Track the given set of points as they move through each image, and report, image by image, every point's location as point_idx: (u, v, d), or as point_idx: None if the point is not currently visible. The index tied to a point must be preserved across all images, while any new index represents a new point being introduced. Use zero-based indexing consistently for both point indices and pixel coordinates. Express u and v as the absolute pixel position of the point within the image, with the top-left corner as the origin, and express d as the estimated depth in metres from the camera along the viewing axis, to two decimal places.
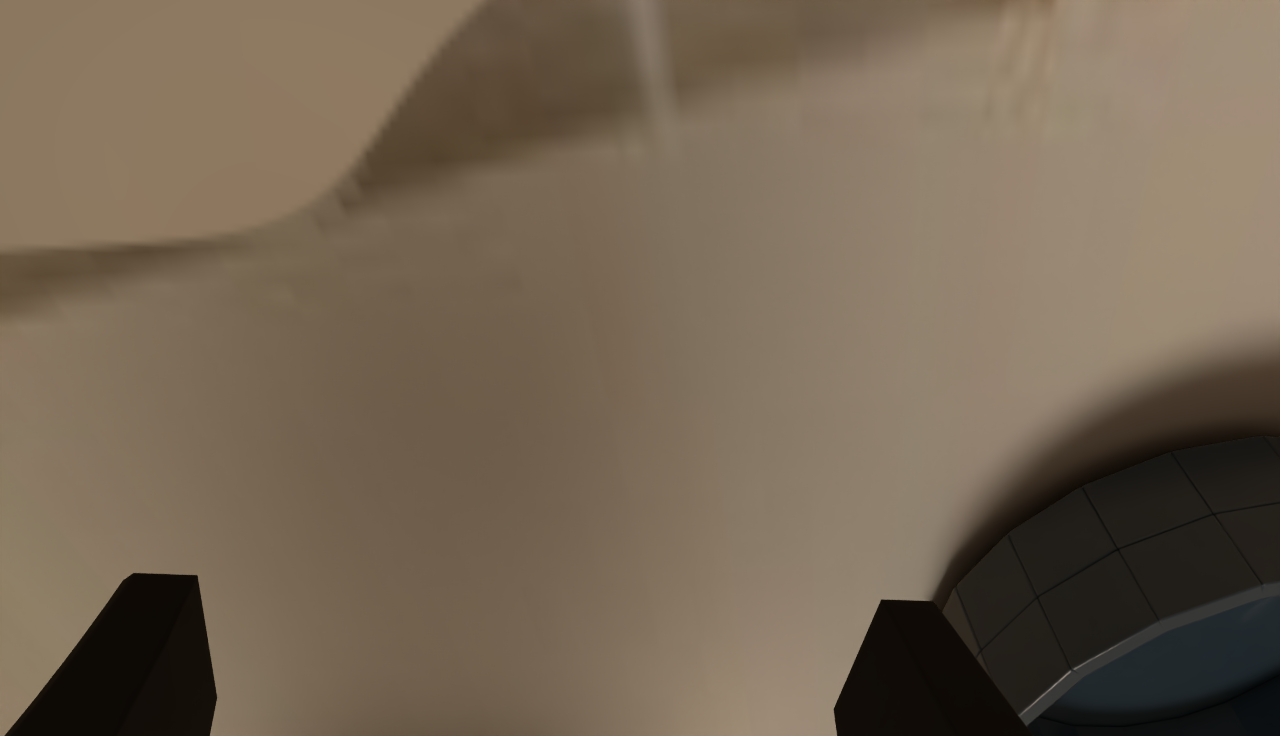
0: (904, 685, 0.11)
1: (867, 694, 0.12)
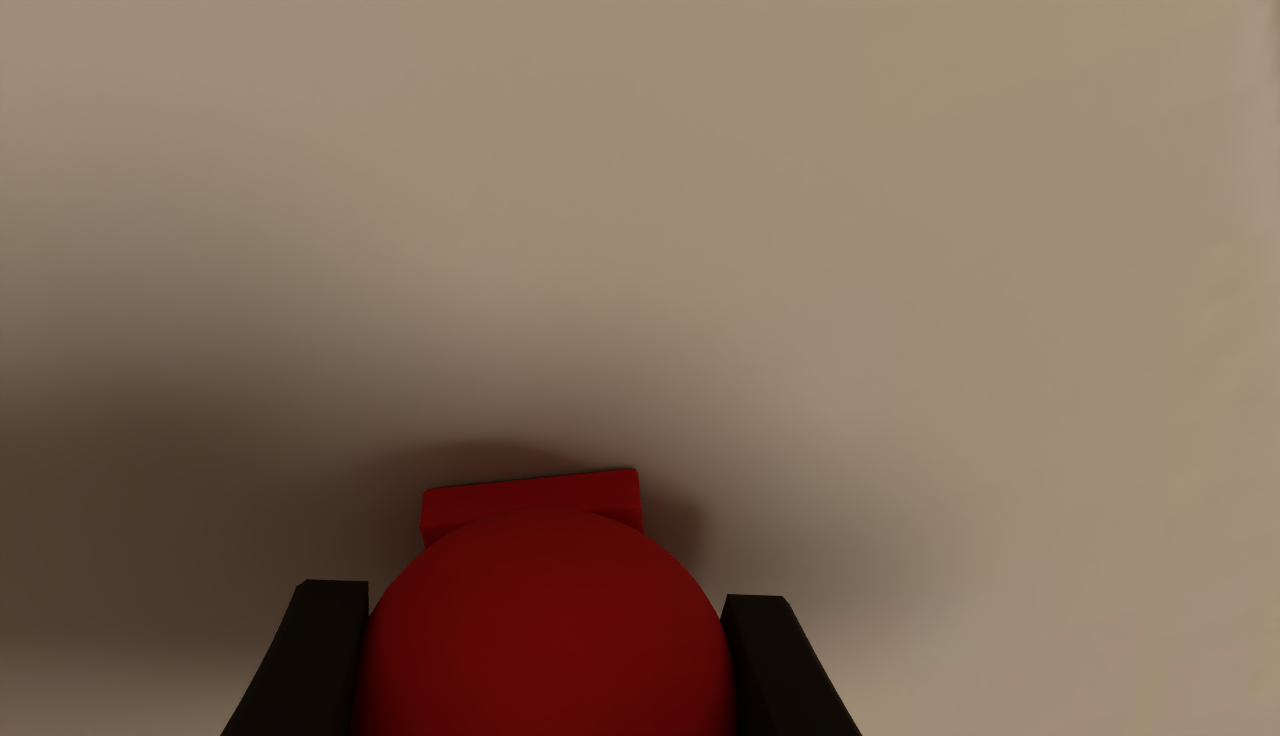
0: (740, 681, 0.10)
1: None
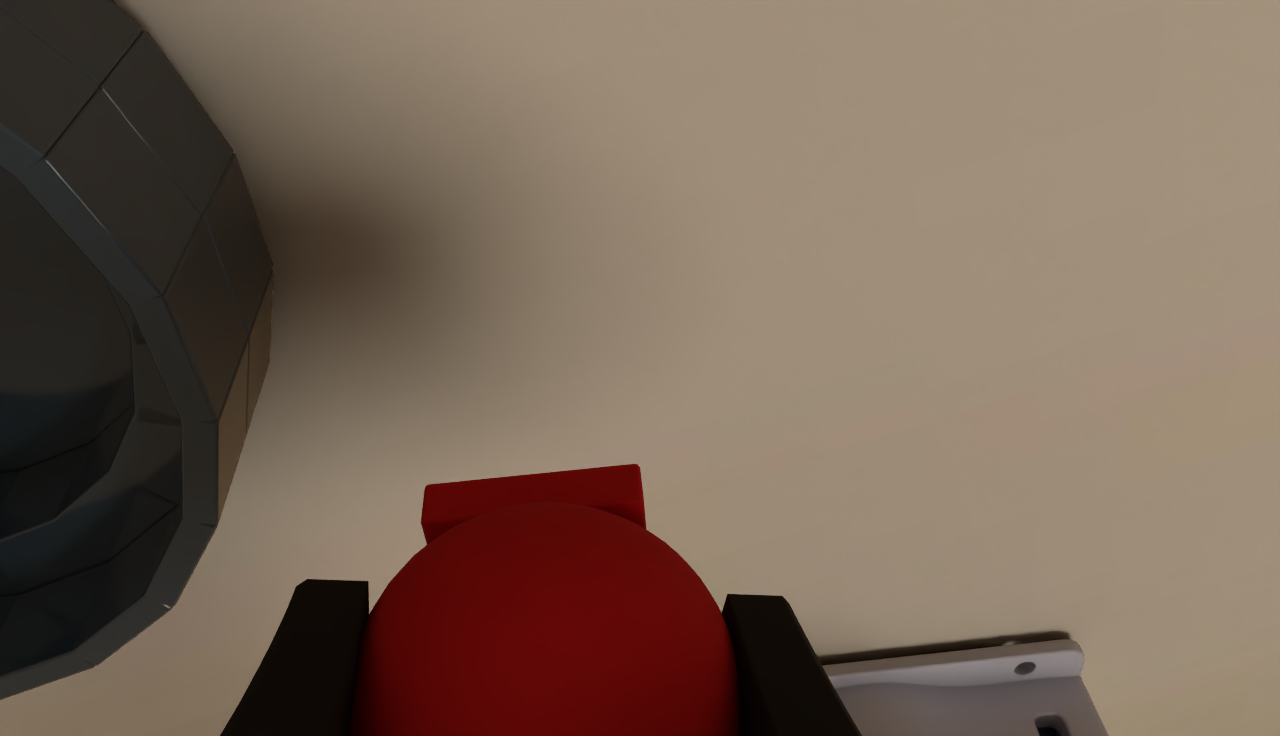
0: (740, 681, 0.10)
1: None
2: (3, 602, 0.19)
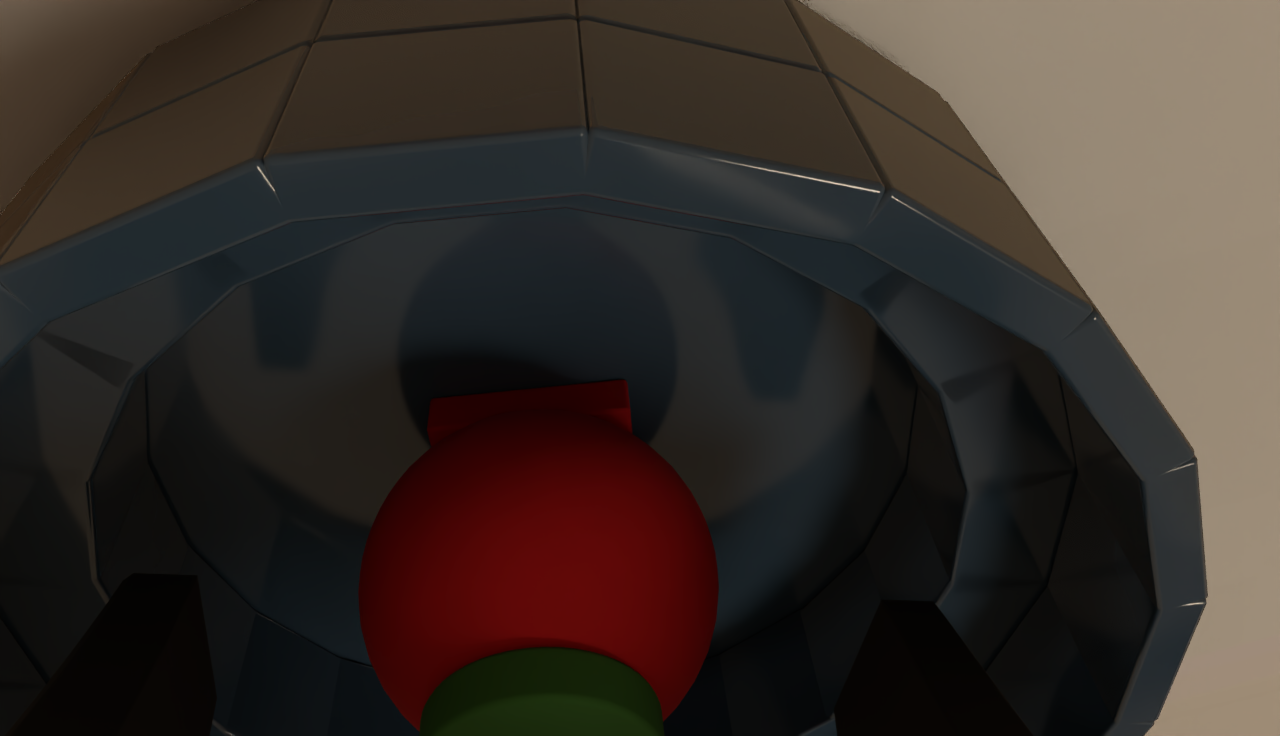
0: (904, 685, 0.11)
1: (867, 694, 0.12)
2: None
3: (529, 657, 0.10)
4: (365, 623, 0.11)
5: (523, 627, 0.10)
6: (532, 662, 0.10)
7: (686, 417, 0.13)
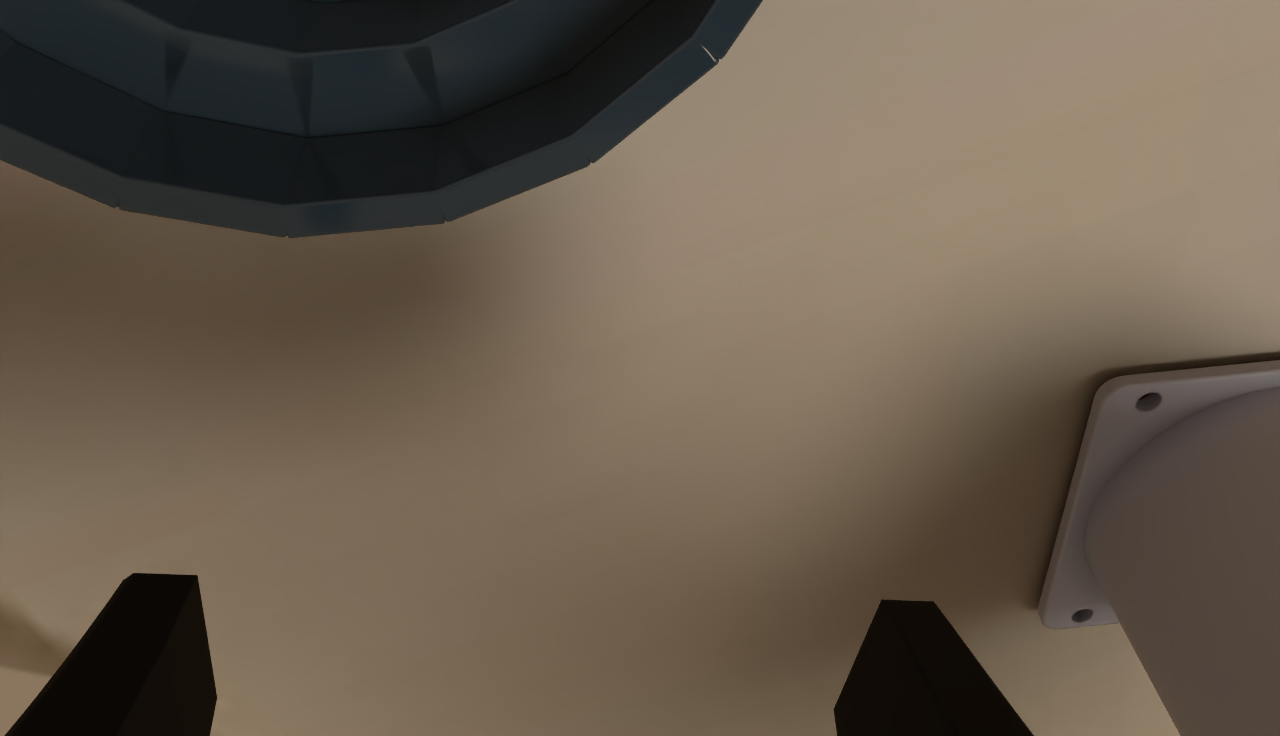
0: (904, 685, 0.11)
1: (867, 694, 0.12)
2: (427, 131, 0.15)
3: None
4: None
5: None
6: None
7: None
